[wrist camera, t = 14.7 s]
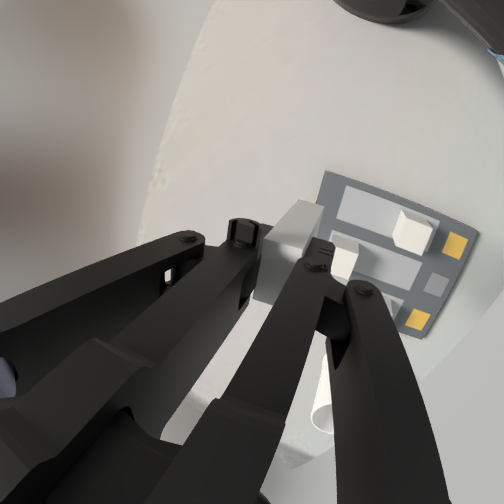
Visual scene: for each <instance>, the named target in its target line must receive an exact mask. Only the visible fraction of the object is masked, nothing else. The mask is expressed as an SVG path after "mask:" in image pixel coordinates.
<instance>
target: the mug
mask: <svg viewBox="0 0 504 504" xmlns="http://www.w3.org/2000/svg"><path fill="white" fill-rule="evenodd" d="M311 421H312V423H313V425H314V426H315V427H316V428H317V429H319V430H321V431H323V432H325V433H328V434H333V435H334V426H333V413H332V401H331V390H330V380H329V370H328V361H327V354H326V355H325V356H324V358H323V361H322V372H321V376H320V381H319V385H318V389H317V393H316V397H315V401H314V405H313V409H312V413H311Z"/></svg>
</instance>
